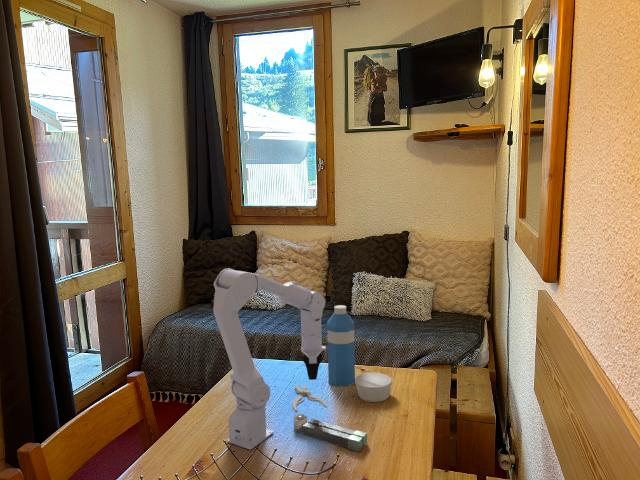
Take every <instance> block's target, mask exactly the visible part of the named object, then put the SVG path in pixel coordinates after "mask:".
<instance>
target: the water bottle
mask: <svg viewBox="0 0 640 480" xmlns="http://www.w3.org/2000/svg"><path fill="white" fill-rule="evenodd" d="M333 309H334V311H333V312H332V315H331V317H330V318H329V319H328V321H327V323H326V326H327V331H326V333H327V363H328V364H327V367H328V368H327V369H328V371H327V375H328V377H327V378H328V384H330V385H333V386H334V387H349V386H351V385H353V384H355V379H356V368H355V367H356V361H355V360H356V359H355V358H356V357H355V356H356V354H355V321H354V320H353V318H351V316H350V315H349V314H348V312H347V306H346V305H342V304H341V305H340V304H339V305H334V308H333Z"/></svg>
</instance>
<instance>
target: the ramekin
mask: <svg viewBox="0 0 640 480" xmlns="http://www.w3.org/2000/svg"><path fill="white" fill-rule="evenodd" d="M354 384H355V385H356V390H357V394H358V397H359V398H360V399H361V400H363V401H365V402H370V403H379V402H384V401H385V400H387V399H388V398H389V397H390V394H391V390H392V389H391V388H392V384H393V379H392V377H390V375H388V374H385V373H382V372H367V373H361V374H359V375H357V376H355V383H354Z"/></svg>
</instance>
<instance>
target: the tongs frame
mask: <svg viewBox="0 0 640 480" xmlns="http://www.w3.org/2000/svg"><path fill="white" fill-rule="evenodd" d="M293 431H294V432H295V433H296V434H297V433H298V434H303V435H304V436H307V437H311V438H314V439H318V440H321V441H324V442H327V443H331V444H332V445H333V444H334V445H337V446H341V447H344V448H346V449H348V450H352V451H354V452H358V453H359V452H360V451H361V450H362V449H363V448H364V447H363V439H362V437H358V436H355V435H348V434H345V433H342V432H338V431H335V430H331V429H328V428H324V427H321V426H317V425H314V424H310V423H308V416H306V415H304V414H302V413H299V414H296V415H294V417H293Z"/></svg>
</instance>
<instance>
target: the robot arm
mask: <svg viewBox="0 0 640 480" xmlns="http://www.w3.org/2000/svg"><path fill="white" fill-rule="evenodd" d="M298 284H299V283H298V282H297V281H294V280H292V281H286V282H284V283H281V282H279V281H276V280H274V279H272V278H269V277H267V276H264V275H262V274H257V273H254V272H253V273H252V272H247V271H243V270H235V269H233V268H231V267H230V268H229V267H228V268H224V269H222V270H221V271H220V272H219V274H218V275H217V276H216V278H215V280H214V282H213V287H214V289H215V290H214V291H215V292H214V299H213V300H214V301H213V307H212V308H213V315H214V319H215V321H216V324H217V327H218V330H219V333H220V336H221V338H222V341H223V344H224V349H225V351H226V353H227V356H228V360H229V363H230V365H231V369H232V373H231V375H230V376H229V378H230V381H231V385H230V391H231V393H232V395H233V396H234V397H235V401H236V407H235V409H234V410H233V412H232V413H231V414H230V415H229V417H228V437H229V438H227V439H226V441H227V443H230V444H232V445H235V446H238V447H241V448H243V449H248V450H253V449H254V448H255V447H256V446H258V445H259V444H260V443H262V442H263V441H265V440H266V439H267V438H269V437H270V436H272V435H273V434H274V430H272V429H268V428H267V415H266V414H267V413H266V406H267V403H268V402H269V400H270V396H271V388H270V386H269V384H268V383H266V382H265V380H264V377H263V376H262V374H261V373H260V372H259V370H258V369H257V368H256V367H255V364H254V360H253V357H252V355H251V354H252V353H251V352H250V348H249V345H248V341H247V338H246V336H245V332H244V329H243V326H242V322H241V320H240V317H239V312H240V310H241V309H242V308H243V307H244V305H246V303H247V302H248V301H249V300H250V299H252V297H253V295H255V293H256V294H257V293H258V294H259V292H260V291H263V292H267V293H269V294H273V295H276V296H278V297H279V300H280V301H281V302H282V303H284V304H287V305H290V306H293V307H295V308H297V309H298V310H300V327H301V328H300V329H301V331H300V333H301V334H300V335H301V347H300V351H301V356H302V357H301V359H302V361H303V363H304V365H305V368H306V373H307V376H308V377H307V378H308V380H309V381H312V380H313V381H315V380H317V378H318V372H319V367H320V364H321V362H322V360H323V354H322V352H323V351H325V352H326V351H327V346H326V345H322V344H323V343H322V341H323V340H322V339H323V337H322V336H323V335H322V334H323V333H322V317H323V311H324V309H325V306H326V300H325V299H324V296H323V295H322V293H320V292H318V291H313V290H311V288H310V287H309V286H304V287H303V286H301V285H298Z"/></svg>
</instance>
